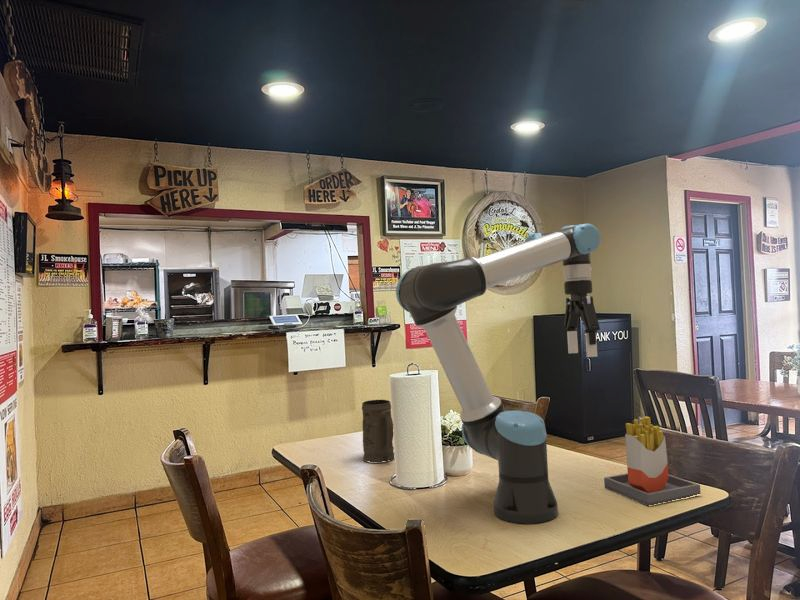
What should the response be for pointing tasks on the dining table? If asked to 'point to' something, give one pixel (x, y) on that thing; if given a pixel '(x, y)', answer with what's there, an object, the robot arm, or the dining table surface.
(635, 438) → the french fries container
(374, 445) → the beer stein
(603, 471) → the dining table surface
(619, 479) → the serving tray
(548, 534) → the dining table surface
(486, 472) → the dining table surface
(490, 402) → the robot arm
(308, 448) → the dining table surface
